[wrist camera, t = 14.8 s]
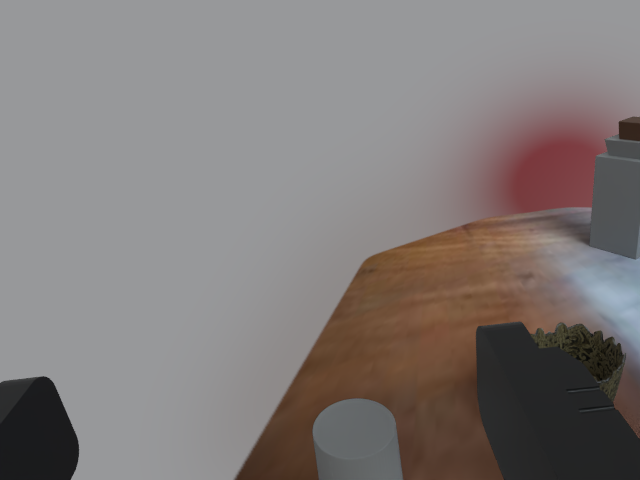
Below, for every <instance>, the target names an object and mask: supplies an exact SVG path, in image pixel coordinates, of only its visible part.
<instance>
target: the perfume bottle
mask: <svg viewBox="0 0 640 480" xmlns="http://www.w3.org/2000/svg"><path fill="white" fill-rule="evenodd" d="M605 142H606V146H607V150H608V152H606V153H603V154H600V155H598V156H596V160H595V174H594V188H593V202H592V216H591V230H590V244H589V246H591V247H595V248H598V249H602V250H605V251H609V252H612V253H615V254H619V255H622V256H626V257H629V258H633V259H638V258H639V257H640V117H631V118H628V119H625V120H622V121H619V134H618V135H615V136H612V137H610V138H607V139H605Z"/></svg>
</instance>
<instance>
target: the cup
mask: <svg viewBox="0 0 640 480" xmlns="http://www.w3.org/2000/svg"><path fill="white" fill-rule="evenodd" d="M555 331H556V332H555ZM555 331H554V332H555V333H551V332H548V333H547V334H544V331H543V329H542V328H538V329H537V331H536V333H535V334H530V335H531V336H532V338H533V340H534V341H535V343H536V344H537V346H538V347H539V348H548V347H559V348H560V349H562V350H563V351H565V352H567V353H568V354H570V355H571V356H573V357H574V358H576V359H577V360H579V361H580V362H582V363H583V364H584V365H585V367H586V368H587V369H588V371H589V372H590V373H591V375H592V376H593V377H594V379H595V380H596V381H597V383H598V384H599V385H600V389H601V391H602V390H603V391H604V392H605V393H606V395H607V396H608V398H609V399H610V400H611V402H612V403H613V401H614V398H615V396H616V392H617V389H618V386H619V382H620V378H621V374H622V370H623V367H624V364H625V358H626V353H625V354H624V355H622V351H621V344H620V343H618V344H617V346H616V342H615V339H614V338H613V337H610V338H608V339H606V340H605V341H604V340H603V334H602V331H596V332H594V334H595V335H594V334H592V333H590V332H589V330H588V328H587V327H585V326H584V325H583V324H576V325H574V326H571V327H569V328H567V326H566V324H564V323H559V324H558V325H557V327H556V330H555ZM623 356H624V357H623Z"/></svg>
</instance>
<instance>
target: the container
mask: <svg viewBox="0 0 640 480" xmlns="http://www.w3.org/2000/svg"><path fill="white" fill-rule="evenodd" d="M312 432H313V440H314V447H315V454H316V462H317V469H318V476H319V480H403V475H402V468H401V460H400V452H399V444H398V437H397V429H396V422H395V419H394V416H393V415H392V413H391V412H390V411H389V410H388V409H387V408H386V407H385V406H383V405H382V404H380V403H378V402H375V401H372V400H368V399H347V400H343V401H339V402H337V403H334V404H332V405H330V406H329V407H327V408H326V409H324V410H323V411H322V412H321V413H320V414H319V415H318V417H317V418H316V420H315V422H314V425H313V431H312Z"/></svg>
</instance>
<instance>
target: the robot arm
mask: <svg viewBox="0 0 640 480" xmlns="http://www.w3.org/2000/svg"><path fill="white" fill-rule="evenodd" d="M476 353H477V391H478V403H479V409H480V414H481V419H482V422H483V426H484V429H485V432H486V434H487V437H488V439H489V442H490V445H491V447H492V450H493V452H494V455H495V457H496V460H497V463H498V465H499V468H500V470H501V473H502V475H503V478H504V480H640V439H639V438H638V437H637V435H636V434H635V433H634V431H633V430H632V429H631V427H630V426H629V425H628V423H627V422H626V420H625V419H624V418H623V416H622V415H621V414H620V412H619V411H618V410H615V408H614V404H613V403H612V402H611V400H610V399H609V398H608V396H607V395H606V393H605V392H604V391H603V390H602V391H601V389H600V385H599V384H598V383H597V381H596V380H595V379H594V377H593V376H592V375H591V373H590V372H589V371H588V369H587V368H586V367H585V365H584V364H583V363H582V362H580V361H579V360H577V359H576V358H574V357H573V356H571V355H570V354H568V353H567V352H565V351H563V350H562V349H560V348H559V347H548V348H539V347H538V346H537V344H536V343H535V341H534V340H533V338H532V336H531V335H530V333H529V332H528V330H527V329H526V327H525V326H524V324H523V323H522V322H512V323H504V324H495V325H487V326H478V328H477V331H476ZM78 457H79V444H78V439H77V436H76V434H75V431H74V429H73V427H72V424H71V422H70V420H69V417H68V415H67V413H66V410H65V408H64V406H63V404H62V401H61V399H60V396H59V394H58V392H57V390H56V387H55V385H54V383H53V382H52V381H51V380H50V379H49V378H47V377H44V376H43V377H34V378H26V379H18V380H9V381H3V382H1V383H0V480H71V478H72V476H73V474H74V472H75V470H76V467H77V463H78Z"/></svg>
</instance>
